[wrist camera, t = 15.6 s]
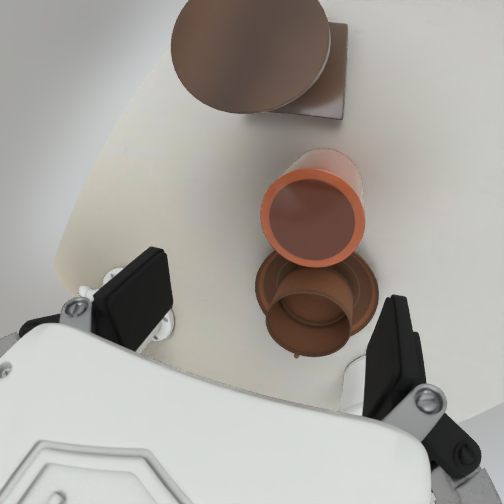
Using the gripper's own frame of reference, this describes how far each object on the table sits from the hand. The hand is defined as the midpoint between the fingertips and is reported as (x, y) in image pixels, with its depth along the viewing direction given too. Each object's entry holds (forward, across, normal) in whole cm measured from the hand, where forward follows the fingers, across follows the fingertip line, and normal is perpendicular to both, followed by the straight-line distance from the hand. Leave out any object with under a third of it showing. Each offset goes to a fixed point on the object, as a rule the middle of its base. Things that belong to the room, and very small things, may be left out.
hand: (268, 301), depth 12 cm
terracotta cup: (+15, -1, -1) cm, 15 cm away
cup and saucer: (+16, -2, +9) cm, 18 cm away
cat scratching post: (+15, +2, -11) cm, 19 cm away
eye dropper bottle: (+16, -10, +19) cm, 27 cm away
